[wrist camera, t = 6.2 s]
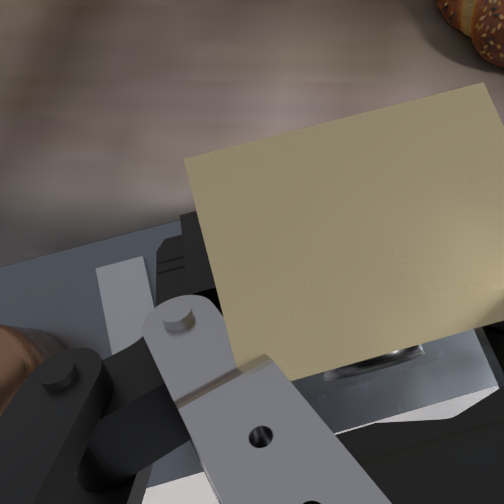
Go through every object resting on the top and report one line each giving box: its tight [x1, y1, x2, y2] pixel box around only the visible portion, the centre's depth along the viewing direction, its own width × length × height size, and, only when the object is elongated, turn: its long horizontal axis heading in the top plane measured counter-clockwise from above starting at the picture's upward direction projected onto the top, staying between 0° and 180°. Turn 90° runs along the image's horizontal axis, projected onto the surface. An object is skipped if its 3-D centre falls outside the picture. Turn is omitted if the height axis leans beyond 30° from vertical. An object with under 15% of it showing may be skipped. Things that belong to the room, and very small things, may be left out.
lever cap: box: [183, 82, 504, 381], centre depth 10 cm, size 4×4×9 cm
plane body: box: [0, 220, 498, 488], centre depth 14 cm, size 24×8×8 cm, turn 105°
